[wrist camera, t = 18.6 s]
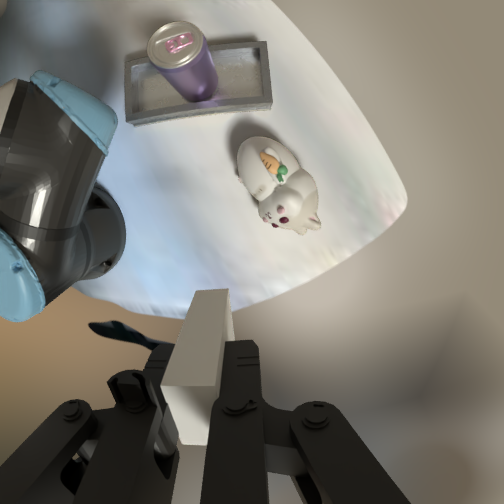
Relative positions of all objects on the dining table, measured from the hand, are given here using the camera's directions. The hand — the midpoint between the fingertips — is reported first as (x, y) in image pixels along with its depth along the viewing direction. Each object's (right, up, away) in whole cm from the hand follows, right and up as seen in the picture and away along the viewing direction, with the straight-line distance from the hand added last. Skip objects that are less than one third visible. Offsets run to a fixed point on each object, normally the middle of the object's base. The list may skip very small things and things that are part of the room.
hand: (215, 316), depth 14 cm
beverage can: (-6, +27, +23) cm, 36 cm away
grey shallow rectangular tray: (-6, +27, +24) cm, 37 cm away
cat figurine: (+5, +13, +28) cm, 32 cm away
